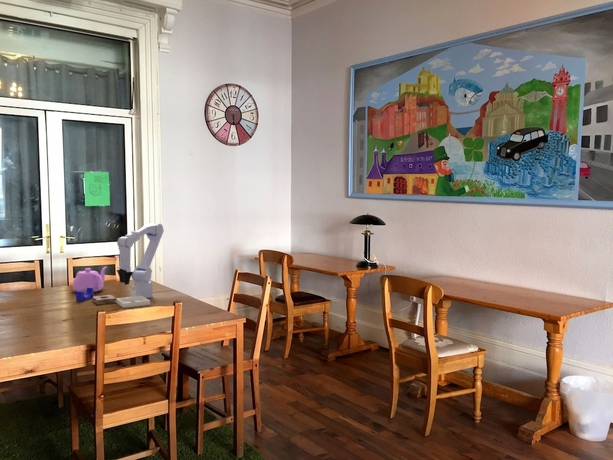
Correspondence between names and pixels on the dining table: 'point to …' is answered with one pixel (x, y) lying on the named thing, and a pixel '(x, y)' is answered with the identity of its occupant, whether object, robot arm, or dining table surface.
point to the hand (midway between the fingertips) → (124, 283)
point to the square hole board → (104, 299)
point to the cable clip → (84, 294)
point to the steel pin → (132, 294)
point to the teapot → (89, 280)
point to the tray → (138, 302)
